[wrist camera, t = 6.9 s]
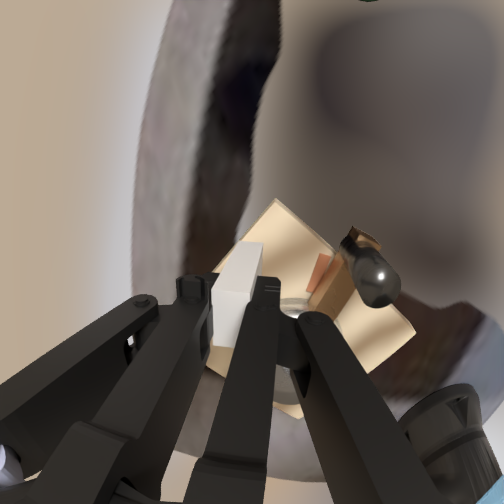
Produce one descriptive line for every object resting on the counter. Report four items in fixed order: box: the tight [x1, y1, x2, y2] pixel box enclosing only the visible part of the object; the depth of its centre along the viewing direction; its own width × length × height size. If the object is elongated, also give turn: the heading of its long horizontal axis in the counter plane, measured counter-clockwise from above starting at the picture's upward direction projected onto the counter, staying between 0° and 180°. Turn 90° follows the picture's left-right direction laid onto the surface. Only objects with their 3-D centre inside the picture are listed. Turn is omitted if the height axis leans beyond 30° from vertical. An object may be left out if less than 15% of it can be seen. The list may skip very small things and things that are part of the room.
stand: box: [206, 198, 416, 419], centre depth 28 cm, size 20×18×2 cm
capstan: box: [273, 226, 401, 405], centre depth 21 cm, size 18×10×8 cm, turn 156°
